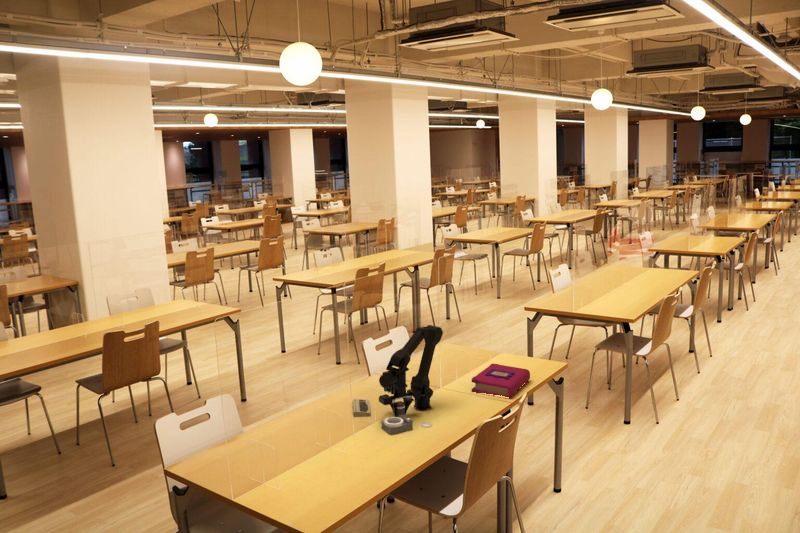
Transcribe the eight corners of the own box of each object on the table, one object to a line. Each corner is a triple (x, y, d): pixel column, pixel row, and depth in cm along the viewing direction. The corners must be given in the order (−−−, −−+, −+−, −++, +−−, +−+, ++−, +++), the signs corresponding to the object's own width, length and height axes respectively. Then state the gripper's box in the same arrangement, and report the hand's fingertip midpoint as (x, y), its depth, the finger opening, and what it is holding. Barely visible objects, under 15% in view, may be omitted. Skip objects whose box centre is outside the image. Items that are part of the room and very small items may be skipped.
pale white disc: (428, 422, 304) (428, 421, 304) (434, 426, 300) (434, 425, 300) (418, 425, 302) (418, 423, 302) (424, 429, 298) (424, 427, 297)
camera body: (403, 423, 303) (403, 412, 302) (412, 429, 296) (412, 419, 295) (381, 428, 298) (381, 417, 297) (390, 435, 291) (390, 424, 290)
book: (529, 382, 353) (530, 368, 352) (510, 400, 330) (510, 385, 328) (492, 375, 364) (492, 362, 362) (470, 392, 340) (470, 378, 339)
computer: (371, 417, 311) (370, 410, 311) (353, 418, 310) (353, 411, 310) (369, 404, 327) (369, 397, 326) (352, 405, 326) (352, 398, 325)
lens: (401, 415, 312) (401, 400, 311) (406, 418, 308) (406, 403, 307) (393, 417, 310) (392, 402, 309) (397, 420, 306) (397, 405, 305)
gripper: (408, 372, 317) (408, 404, 320) (372, 380, 308) (373, 412, 311) (420, 380, 308) (421, 412, 311) (384, 387, 299) (384, 421, 302)
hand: (399, 414), depth 309 cm, fingers open, 5 cm apart
